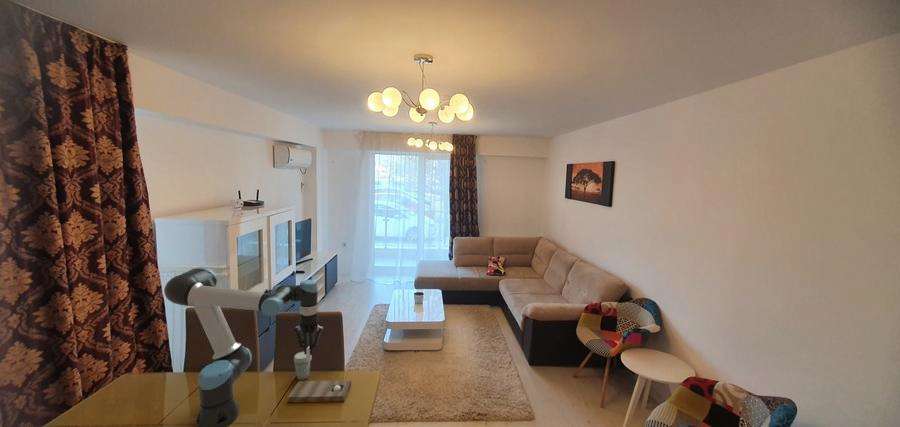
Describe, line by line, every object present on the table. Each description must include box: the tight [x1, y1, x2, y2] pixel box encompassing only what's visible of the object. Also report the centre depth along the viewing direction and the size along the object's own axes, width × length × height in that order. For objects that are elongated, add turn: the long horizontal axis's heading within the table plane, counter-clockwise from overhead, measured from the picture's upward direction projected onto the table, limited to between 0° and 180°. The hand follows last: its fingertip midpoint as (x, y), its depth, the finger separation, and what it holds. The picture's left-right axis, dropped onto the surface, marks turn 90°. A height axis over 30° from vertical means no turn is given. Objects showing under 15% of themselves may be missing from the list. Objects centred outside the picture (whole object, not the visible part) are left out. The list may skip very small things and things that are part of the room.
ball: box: [333, 385, 342, 392], centre depth 158 cm, size 4×4×4 cm
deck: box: [287, 380, 352, 403], centre depth 158 cm, size 26×12×2 cm, turn 93°
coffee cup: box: [293, 351, 311, 381], centre depth 171 cm, size 8×9×12 cm
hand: (309, 360), depth 156 cm, fingers closed
